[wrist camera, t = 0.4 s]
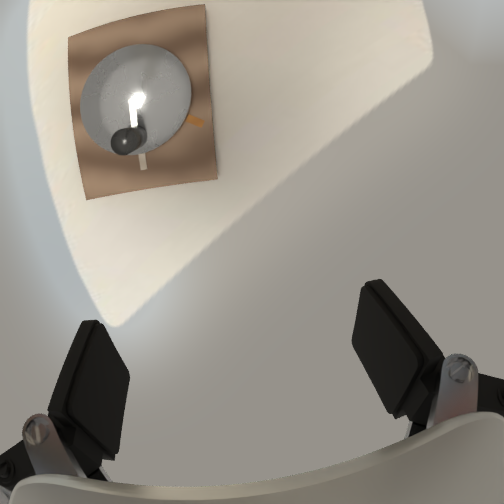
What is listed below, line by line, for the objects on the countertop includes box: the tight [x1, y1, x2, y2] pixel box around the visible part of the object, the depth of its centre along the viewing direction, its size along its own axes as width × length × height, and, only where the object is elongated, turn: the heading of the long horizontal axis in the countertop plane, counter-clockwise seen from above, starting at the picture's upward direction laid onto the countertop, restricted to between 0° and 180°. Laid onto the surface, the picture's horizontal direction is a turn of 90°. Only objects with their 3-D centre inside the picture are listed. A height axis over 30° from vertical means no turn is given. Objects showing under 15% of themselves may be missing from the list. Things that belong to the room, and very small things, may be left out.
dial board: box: [68, 4, 218, 200], centre depth 27 cm, size 22×17×2 cm
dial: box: [80, 44, 192, 156], centre depth 23 cm, size 13×13×6 cm
